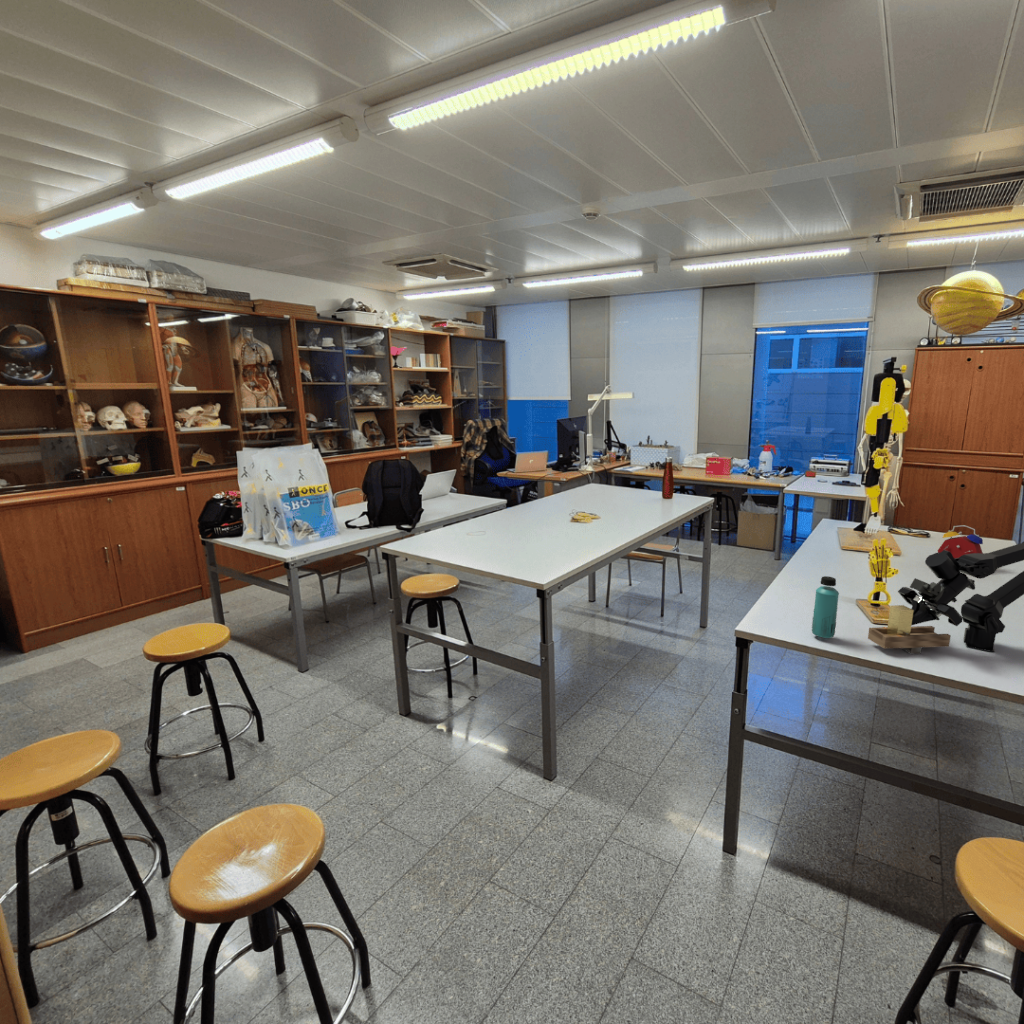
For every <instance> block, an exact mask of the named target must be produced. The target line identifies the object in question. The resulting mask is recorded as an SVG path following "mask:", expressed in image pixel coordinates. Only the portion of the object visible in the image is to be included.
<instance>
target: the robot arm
mask: <svg viewBox="0 0 1024 1024" xmlns="http://www.w3.org/2000/svg"><path fill="white" fill-rule="evenodd" d="M1023 561H1024V541H1022V542H1021V543H1017V544H1014V545H1010V546H1008V547H1004V548H1001V549H998V550H994V551H990V552H987V553H986V552H985V553H973V554H965V555H962V556H961V557H959V558H954V557H953V555H952V554H951V552H949V551H946V550H943V551H942V552H938V551H937V552H935V553H933V554H929V555H928V556H927V557H926V559H925V561H924V563H925V565H926V566H927V567H928V569H929V570H930V571H931V572H932V573H933V574H934V575H935V577H936V578H937V579H940V580H939V581H938V582H933V581H932V582H930V583H928V582H925V581H923V580H921V579H918V578H914V579H913V581H912V582H911V583H910V585H909V587H908V586H902V587H900V589H899V590H897V593H898V594H899V595H900V596H901V597H902V598H903V599H904V601H905V602H906V603H907V604H909V605H910V606H912V607H911V609H912V610H914V611H913V618H912V624H911V626H915V625H919V624H922V623H926V622H931V621H940V616H944V617H947V621H948V623H949V624H951V625H953V626H955V627H958V626H959V625H960V624H962V623H966V624H968V625H967V627H965V628H964V632H963V633H964V634H963V639H962V640H963V643H965V646H966V648H970V649H975V650H980V651H987V652H989V653H990V652H991V653H995V641H996V636H997V634H999V633H1000V634H1001V633H1003V632H1004V630H1005V628H1006V625H1005V624H1004V622H1002V620H1001V618H1002V616H1003V613H1004V609H1005V608H1006V607H1007V606H1010V605H1011V604H1012V603H1013V602H1015V601H1016V600H1018V599H1019V598H1021V597H1022V596H1024V570H1022V572H1020V573H1018V574H1017V575H1015V576H1014V577H1012V578H1011V579H1009V580H1008V581H1007V582H1005V583H1004V584H1003V585H1001V586H999V588H997V589H995V590H994V591H992V592H990V593H989V594H988V595H981V594H980V593H975V594H973V595H972V596H971V597H969V598H968V599H966V600H964V603H963V604H962V605H961V606H960V607H961V608H960V613H959V611H957V610H956V608H955V607H954V606H951V605H949V604H950V602H952V603H954V604H955V603H956V602H957V601H958V599H957V597H958V596H959V595H960V594H961V593H962V592H963V591H965V590H966V589H970V590H975V589H976V585H975V582H976V581H975V580H974V579H971V578H969V577H968V576H970V577H973V578H977V579H984V578H987V577H989V576H991V575H994V574H995V573H996V571H997V569H999V568H1000V569H1001V568H1003V567H1006V566H1009V565H1013V564H1016V563H1020V562H1023ZM917 591H918V592H917Z"/></svg>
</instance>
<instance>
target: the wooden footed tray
mask: <svg viewBox="0 0 1024 1024" xmlns="http://www.w3.org/2000/svg"><path fill="white" fill-rule="evenodd" d="M887 627H888V626H882V627H869V628H868V633H867V639H868V640H870V641H871V642H873V643H874V644H876V645H878V646H879V647H881V648H883V649H884V650H885V649H901V650H903V651H905V652H907V653H908V654H910V655H916V654H917V655H919V654H922V648H941V647H950V642H951V634H949V633H937V632H935V628H936V627H934V626H933V625H921V626H919V625H918V626H917V625H916V626H915V625H912V626H911V631H910V635H888V634H887Z"/></svg>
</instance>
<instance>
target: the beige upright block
mask: <svg viewBox="0 0 1024 1024" xmlns="http://www.w3.org/2000/svg"><path fill="white" fill-rule="evenodd" d="M913 611H914V610H912V608H910V607H908V606H905V605H904V604H901V605H899V604H897V605H894V604H893V605H890V606H889V614H888V621H887V622H888V623H887V626H886V627H887V634H888V635H910V631H911V627H912V625H911V624H912V618H913Z"/></svg>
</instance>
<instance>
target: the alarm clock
mask: <svg viewBox="0 0 1024 1024" xmlns="http://www.w3.org/2000/svg"><path fill="white" fill-rule="evenodd" d="M959 527H965V528H968V529H971V530H973V534H969V535H968V534H967V536H966V535H962V534H963V532H962V531H959V532H957V531H955V528H959ZM959 535H961V536H959ZM942 538H943V539H945V538H948V539H945V540H944V541H943V542H942V544H940V546H939V548H938V550H937V553H938V552H942V551H943V550H946V551H949V552H951V554H952V555H953V557H954V558H959V557H961V556H962V555H965V554H973V553H983V550H982V546H981V545H983V544H984V543H983V538H982V537H980V534H976V529H975V528H973V527H970V526H968V525H964V524H963V525H953V528H952V529H951V530H950V529H949V530H948V531H947V532H945V533H943V535H942Z"/></svg>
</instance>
